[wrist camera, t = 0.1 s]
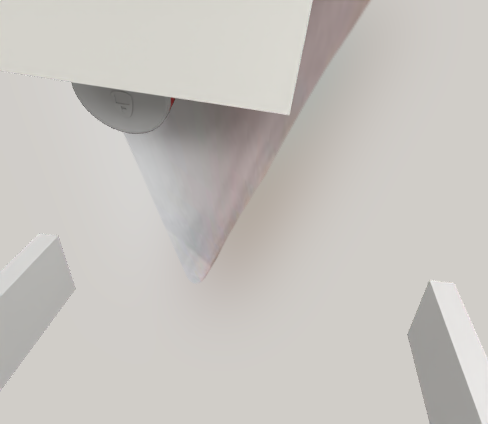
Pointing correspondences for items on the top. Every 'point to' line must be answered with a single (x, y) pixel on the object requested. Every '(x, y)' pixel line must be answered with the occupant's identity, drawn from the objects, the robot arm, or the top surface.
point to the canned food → (124, 107)
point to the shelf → (162, 47)
